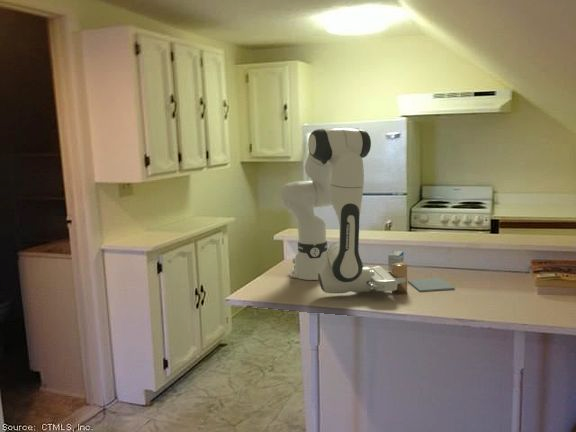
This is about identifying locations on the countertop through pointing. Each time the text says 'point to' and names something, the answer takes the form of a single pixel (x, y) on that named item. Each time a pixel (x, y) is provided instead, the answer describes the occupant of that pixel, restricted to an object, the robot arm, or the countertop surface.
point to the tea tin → (400, 271)
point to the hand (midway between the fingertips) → (401, 276)
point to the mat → (430, 284)
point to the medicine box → (395, 258)
